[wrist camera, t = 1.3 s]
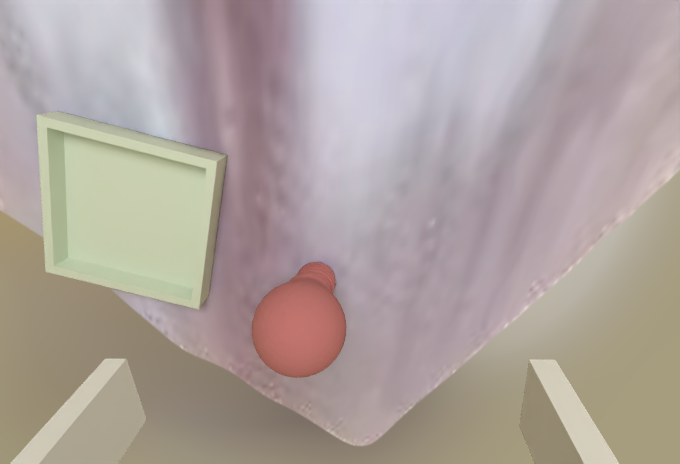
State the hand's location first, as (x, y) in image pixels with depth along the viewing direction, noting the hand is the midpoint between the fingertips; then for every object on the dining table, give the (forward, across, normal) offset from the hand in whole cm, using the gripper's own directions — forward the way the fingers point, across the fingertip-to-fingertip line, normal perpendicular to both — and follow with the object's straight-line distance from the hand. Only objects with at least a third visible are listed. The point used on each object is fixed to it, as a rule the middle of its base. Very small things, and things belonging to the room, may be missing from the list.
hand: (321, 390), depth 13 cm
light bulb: (+24, -4, -8) cm, 25 cm away
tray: (+23, -20, -1) cm, 31 cm away
